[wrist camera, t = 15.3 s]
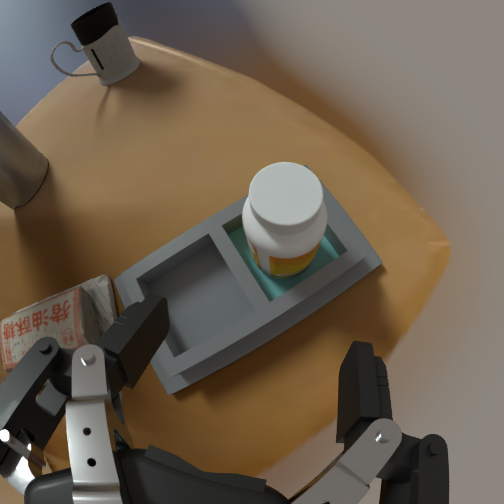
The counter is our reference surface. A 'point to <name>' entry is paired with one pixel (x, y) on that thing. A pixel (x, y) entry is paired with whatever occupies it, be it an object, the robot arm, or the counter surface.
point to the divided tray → (237, 290)
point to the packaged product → (60, 320)
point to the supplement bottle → (284, 219)
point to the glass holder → (103, 45)
